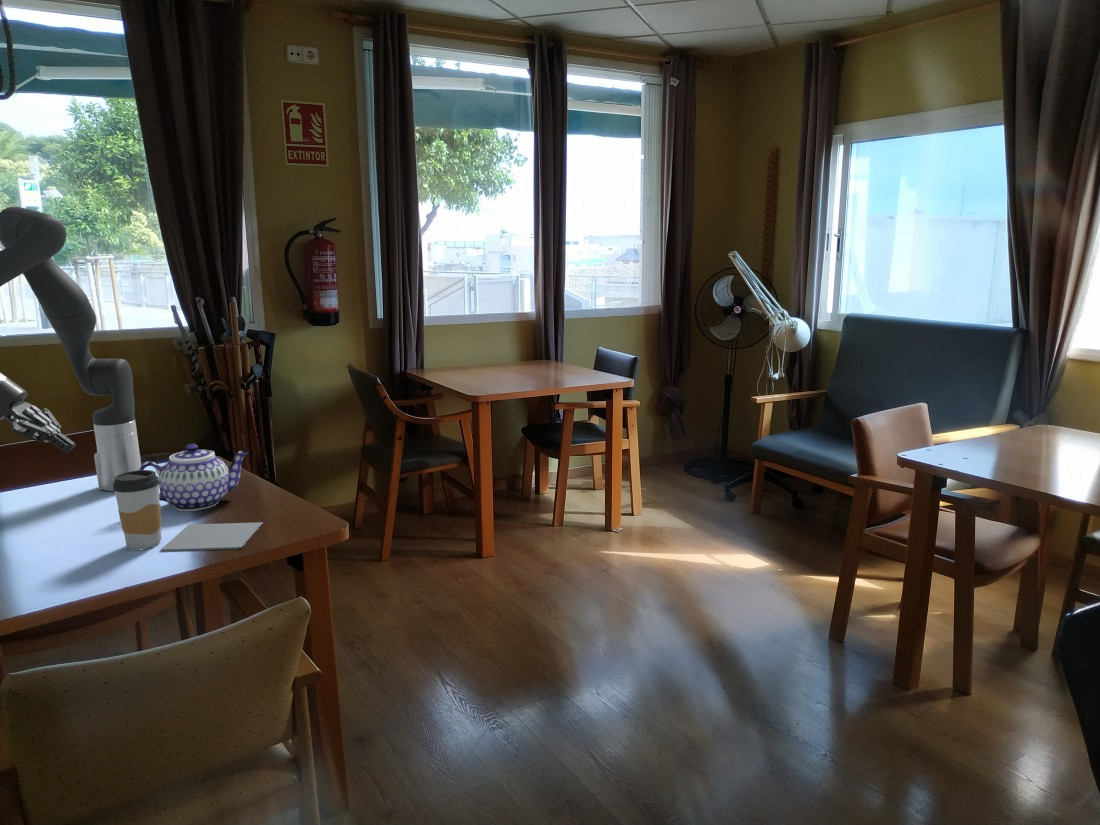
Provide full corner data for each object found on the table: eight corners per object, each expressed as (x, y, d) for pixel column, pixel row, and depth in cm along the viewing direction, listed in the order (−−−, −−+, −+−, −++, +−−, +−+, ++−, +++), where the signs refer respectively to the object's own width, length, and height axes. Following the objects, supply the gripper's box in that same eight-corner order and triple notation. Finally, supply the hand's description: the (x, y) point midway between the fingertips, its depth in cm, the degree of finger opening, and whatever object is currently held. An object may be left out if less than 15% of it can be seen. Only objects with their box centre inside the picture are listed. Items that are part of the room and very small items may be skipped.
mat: (160, 551, 150) (160, 549, 150) (189, 526, 164) (188, 524, 164) (241, 548, 151) (241, 546, 151) (263, 524, 165) (263, 522, 165)
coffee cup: (152, 534, 160) (143, 467, 156) (175, 541, 155) (166, 472, 152) (112, 547, 153) (102, 477, 149) (136, 555, 148) (126, 483, 145)
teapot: (139, 524, 166) (131, 459, 163) (136, 504, 179) (128, 444, 175) (258, 504, 178) (252, 443, 175) (247, 487, 191) (242, 430, 188)
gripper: (-13, 382, 135) (72, 443, 141) (19, 371, 148) (96, 428, 153) (-42, 412, 135) (44, 472, 141) (-7, 399, 148) (71, 454, 153)
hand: (71, 449), depth 147 cm, fingers closed
